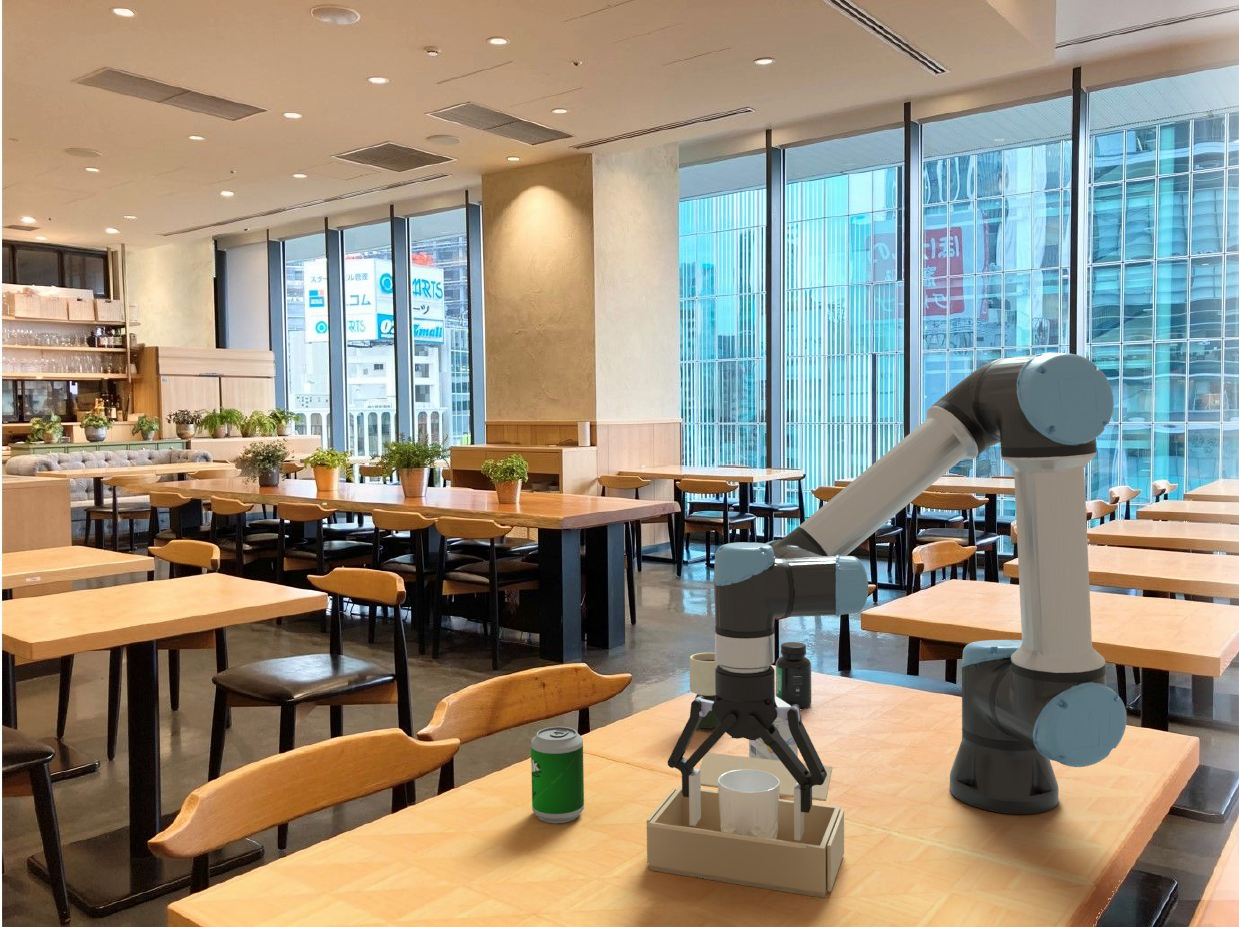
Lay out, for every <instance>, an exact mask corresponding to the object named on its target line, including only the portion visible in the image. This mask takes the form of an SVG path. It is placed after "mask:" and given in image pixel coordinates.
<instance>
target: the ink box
mask: <svg viewBox="0 0 1239 927" xmlns="http://www.w3.org/2000/svg"><path fill="white" fill-rule="evenodd" d="M775 702H776V705H777V707H791V706H790V705H789V704H787V703H786V702H784V701H783V700H781V699H780V698H778V697H777V696H776V695H775ZM773 724H774V726H775V727H776V728H777V729H778V731H779V733H780V735H781V737H782V738H783V739H784V741H785V742H786V743H787V744H788V746H789V747H790V748H791V749H792V751H793V752H794V753H795V754H796V756H797V757H798V756H799V754H798V753H799V752H798V751H799V749H798V747H797V745H796V743H795V741H794V739H793V737H792V735H791V732H790V729H789V725H785V724H784V722H783V720H782V719H781V718H780V717H777V718H776V720H775V721H774V722H773ZM748 741H749V742H748V749H749V750H748V757H751V758H760V759H768V760H777V761H780V760H779V758H778V757H777V756H776V755H775V753H774V752H773V751H772V749H771V748H770V747H769V746H767V745H766V744H765V743H764V742H763V740H762V739H761V738H759V739H756V741H755V740H748ZM798 758H799V757H798Z"/></svg>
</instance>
